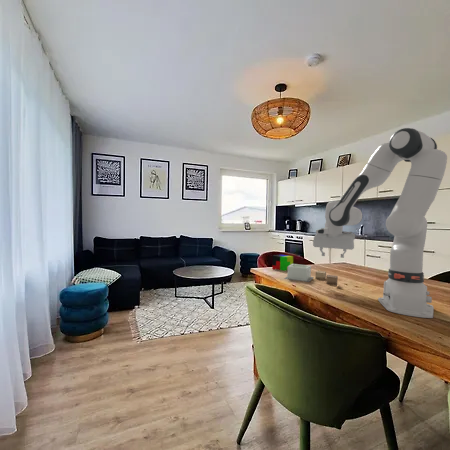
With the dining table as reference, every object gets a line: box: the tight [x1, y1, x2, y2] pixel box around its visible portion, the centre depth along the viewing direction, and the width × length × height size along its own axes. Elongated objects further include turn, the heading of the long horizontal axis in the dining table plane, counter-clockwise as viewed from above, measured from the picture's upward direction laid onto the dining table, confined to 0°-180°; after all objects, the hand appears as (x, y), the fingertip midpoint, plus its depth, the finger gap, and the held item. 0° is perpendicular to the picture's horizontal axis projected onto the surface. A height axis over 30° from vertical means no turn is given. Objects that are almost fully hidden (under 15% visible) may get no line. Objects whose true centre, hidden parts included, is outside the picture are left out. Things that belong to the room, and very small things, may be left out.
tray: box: [283, 276, 315, 283], centre depth 146 cm, size 14×14×1 cm
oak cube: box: [314, 270, 327, 281], centre depth 146 cm, size 5×5×5 cm
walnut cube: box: [325, 274, 338, 288], centre depth 135 cm, size 5×5×5 cm
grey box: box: [286, 263, 312, 282], centre depth 146 cm, size 11×11×7 cm
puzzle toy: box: [271, 254, 294, 272], centre depth 175 cm, size 10×10×10 cm
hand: (332, 256), depth 135 cm, fingers open, 8 cm apart
